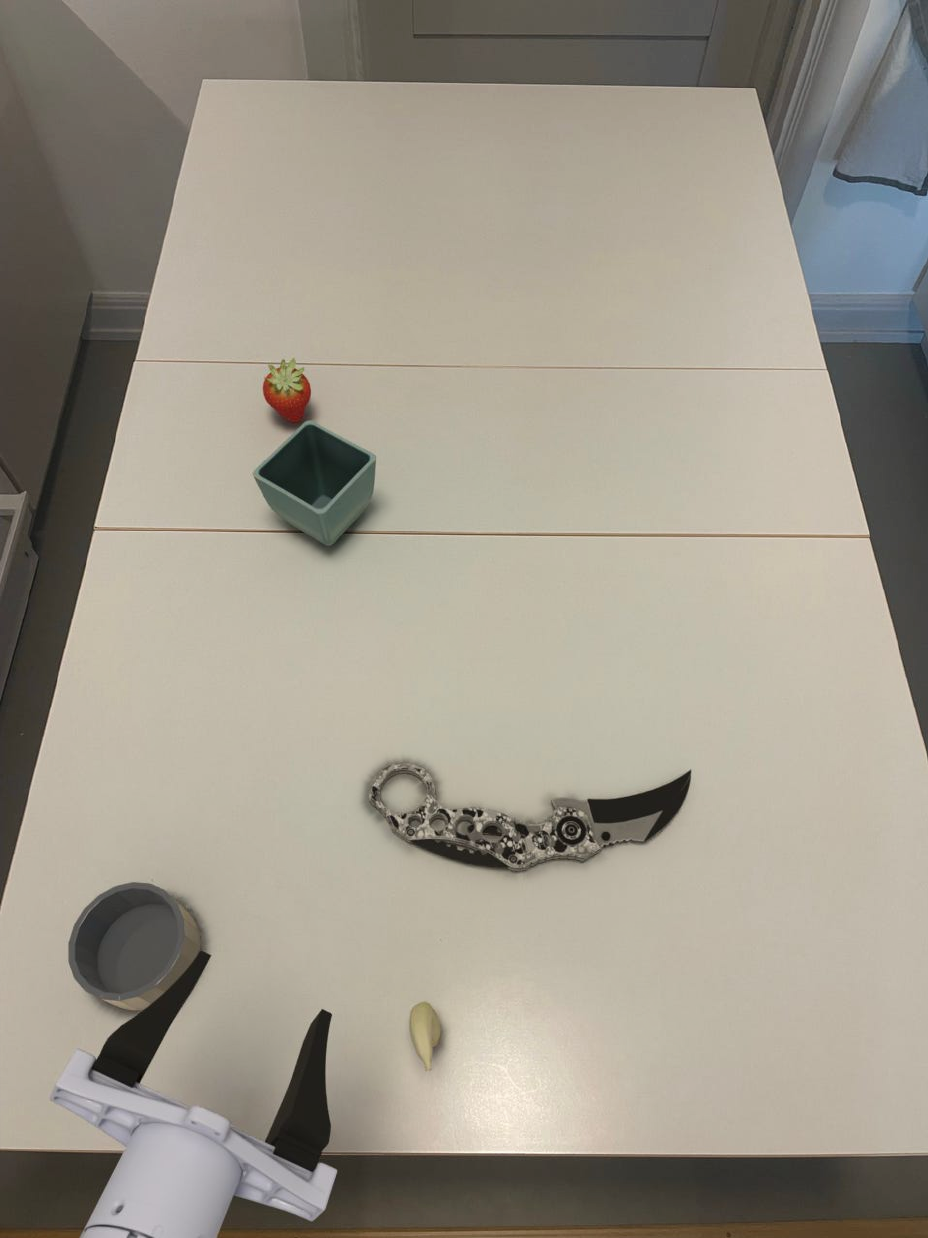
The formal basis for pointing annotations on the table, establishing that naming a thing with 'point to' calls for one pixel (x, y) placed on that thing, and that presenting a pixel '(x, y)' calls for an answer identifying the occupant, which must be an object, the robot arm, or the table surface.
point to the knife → (523, 845)
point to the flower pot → (318, 481)
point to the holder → (132, 945)
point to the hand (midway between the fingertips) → (262, 990)
